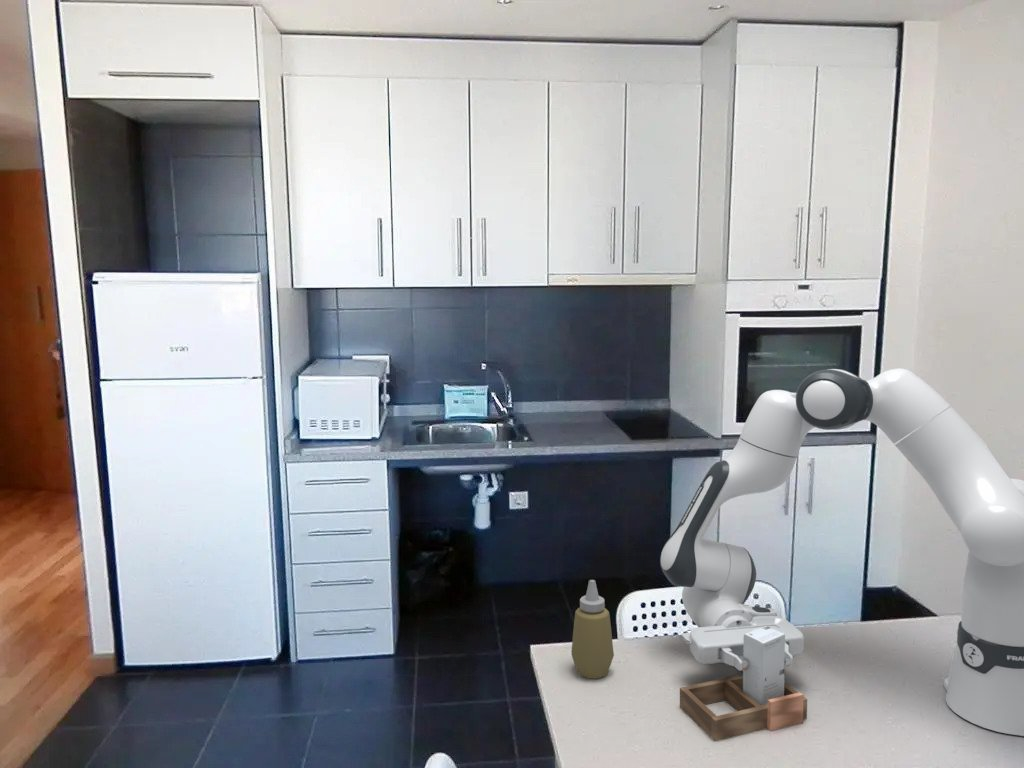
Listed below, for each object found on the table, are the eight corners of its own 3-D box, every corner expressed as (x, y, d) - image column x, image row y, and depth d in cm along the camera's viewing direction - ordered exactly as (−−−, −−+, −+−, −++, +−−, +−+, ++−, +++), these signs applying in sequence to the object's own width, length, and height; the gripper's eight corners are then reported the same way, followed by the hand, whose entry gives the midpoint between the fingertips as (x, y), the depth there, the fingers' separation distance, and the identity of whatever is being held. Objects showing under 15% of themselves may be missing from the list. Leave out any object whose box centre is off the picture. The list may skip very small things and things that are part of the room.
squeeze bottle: (568, 680, 137) (567, 587, 135) (574, 659, 144) (574, 571, 142) (611, 684, 135) (611, 591, 133) (616, 663, 143) (615, 574, 140)
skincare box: (762, 712, 123) (763, 644, 121) (740, 700, 127) (742, 633, 125) (785, 700, 126) (787, 634, 125) (764, 689, 130) (765, 624, 128)
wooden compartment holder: (766, 687, 133) (766, 661, 132) (810, 721, 122) (811, 692, 122) (679, 706, 127) (679, 679, 127) (717, 743, 117) (718, 714, 116)
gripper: (678, 616, 136) (709, 652, 123) (780, 607, 139) (822, 641, 126) (677, 648, 137) (708, 687, 123) (779, 638, 140) (820, 675, 127)
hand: (766, 664), depth 125 cm, fingers closed on skincare box, 7 cm apart
